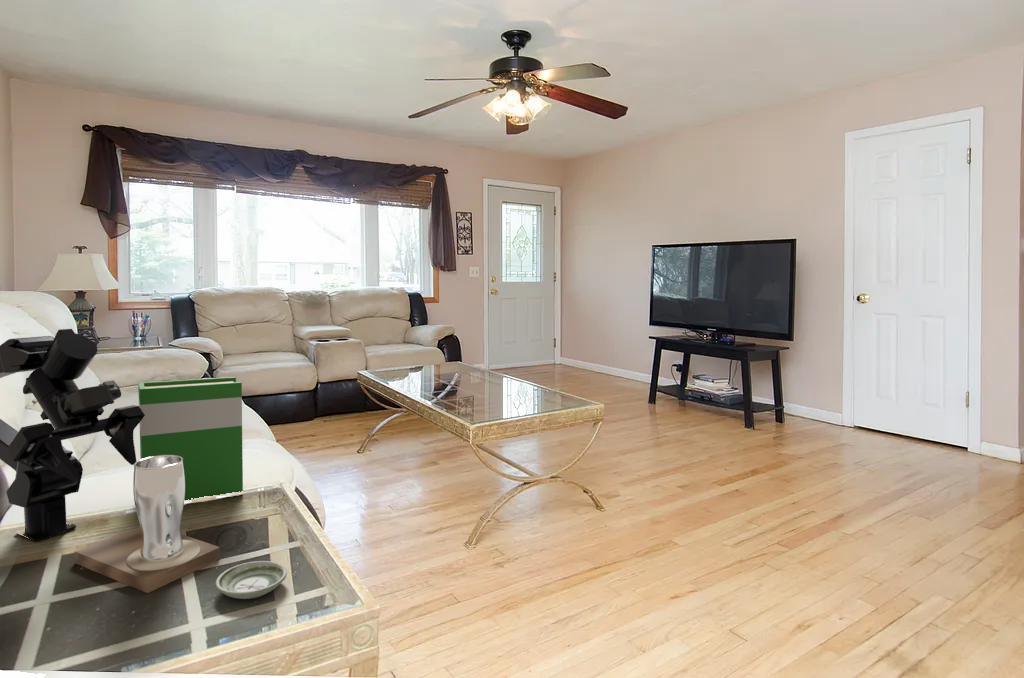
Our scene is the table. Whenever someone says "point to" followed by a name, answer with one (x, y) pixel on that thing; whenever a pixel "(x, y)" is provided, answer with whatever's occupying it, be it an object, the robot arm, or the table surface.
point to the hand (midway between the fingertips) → (107, 471)
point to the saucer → (251, 579)
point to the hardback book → (196, 430)
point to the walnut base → (126, 567)
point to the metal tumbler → (159, 506)
